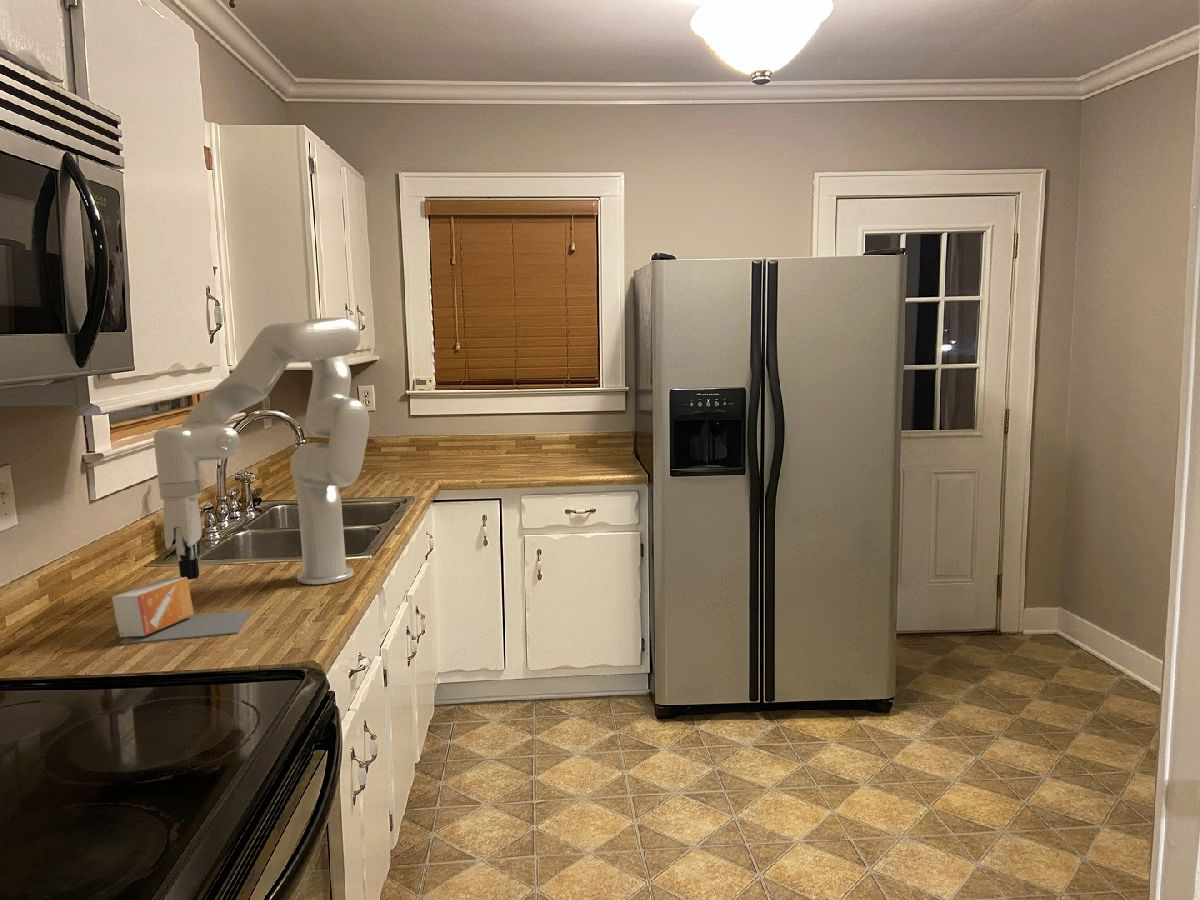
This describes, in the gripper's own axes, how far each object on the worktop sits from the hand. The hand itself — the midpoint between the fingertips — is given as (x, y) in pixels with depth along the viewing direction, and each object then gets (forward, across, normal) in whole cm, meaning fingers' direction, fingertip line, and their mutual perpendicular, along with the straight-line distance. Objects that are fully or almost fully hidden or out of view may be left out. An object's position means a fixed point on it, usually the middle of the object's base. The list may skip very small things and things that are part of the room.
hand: (190, 578), depth 179 cm
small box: (+3, 0, -2) cm, 4 cm away
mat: (+8, +7, +1) cm, 11 cm away
